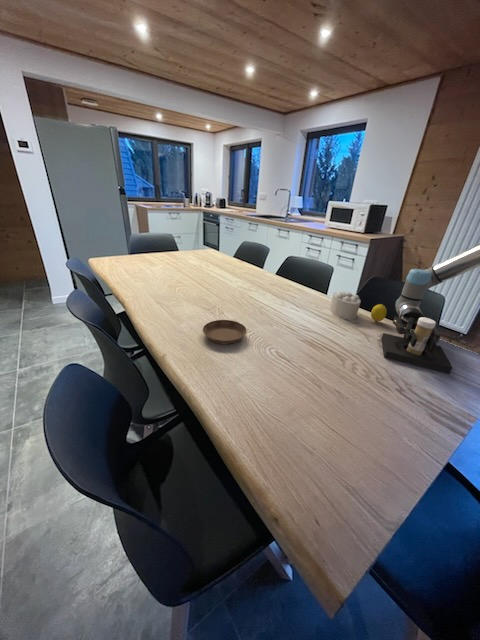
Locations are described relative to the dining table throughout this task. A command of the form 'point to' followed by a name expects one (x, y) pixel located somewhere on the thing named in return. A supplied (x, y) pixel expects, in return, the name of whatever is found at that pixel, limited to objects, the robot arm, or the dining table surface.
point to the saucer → (224, 331)
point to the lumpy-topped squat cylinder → (345, 305)
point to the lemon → (378, 312)
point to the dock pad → (428, 359)
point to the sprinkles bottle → (422, 335)
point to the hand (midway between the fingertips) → (423, 345)
